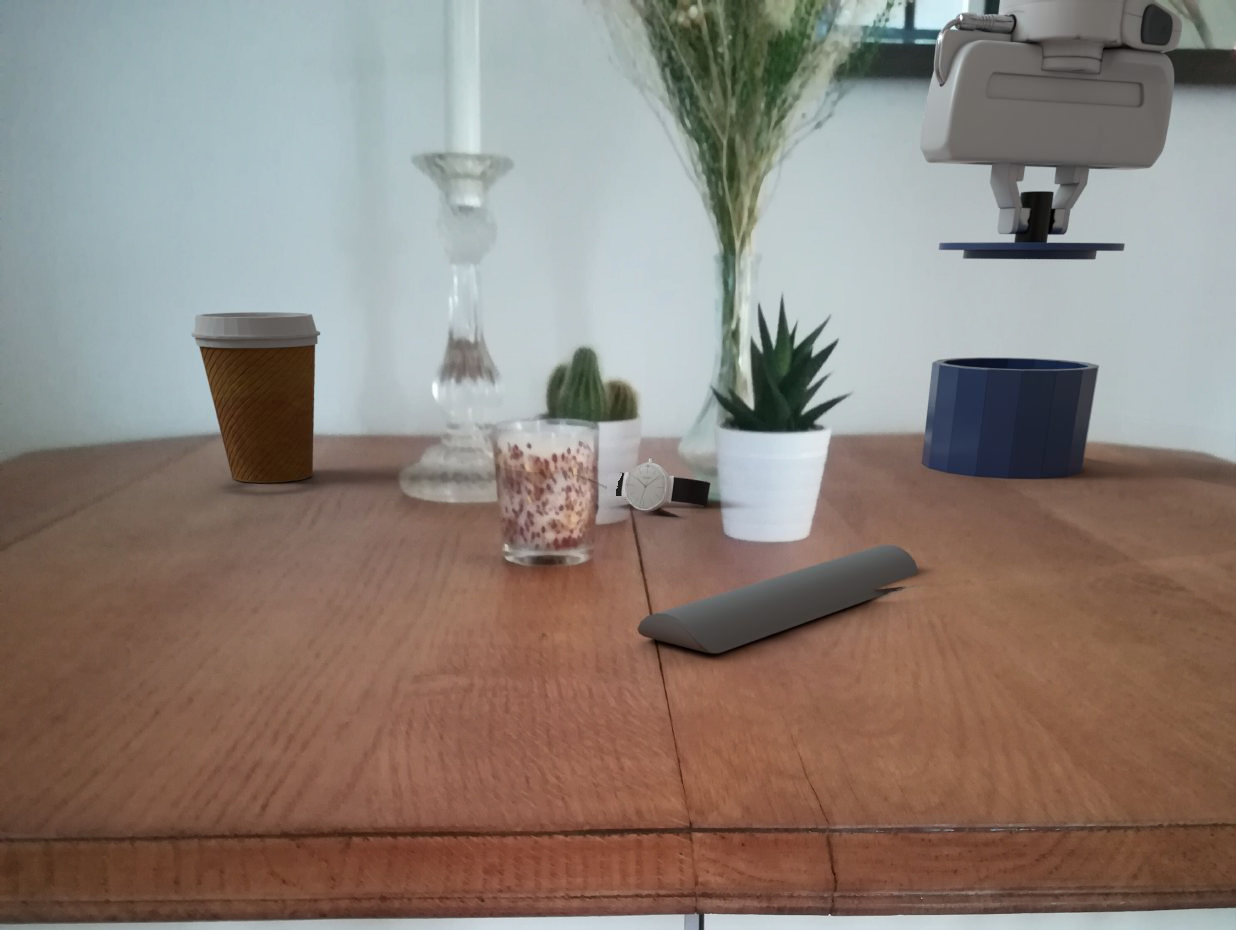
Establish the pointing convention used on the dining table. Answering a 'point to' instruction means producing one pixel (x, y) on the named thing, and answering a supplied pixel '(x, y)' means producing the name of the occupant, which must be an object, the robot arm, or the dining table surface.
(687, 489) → the watch
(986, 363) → the pot
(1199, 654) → the dining table surface
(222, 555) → the dining table surface
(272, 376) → the disposable coffee cup
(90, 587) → the dining table surface
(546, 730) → the dining table surface
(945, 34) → the robot arm
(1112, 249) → the lid
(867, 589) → the half round rod
